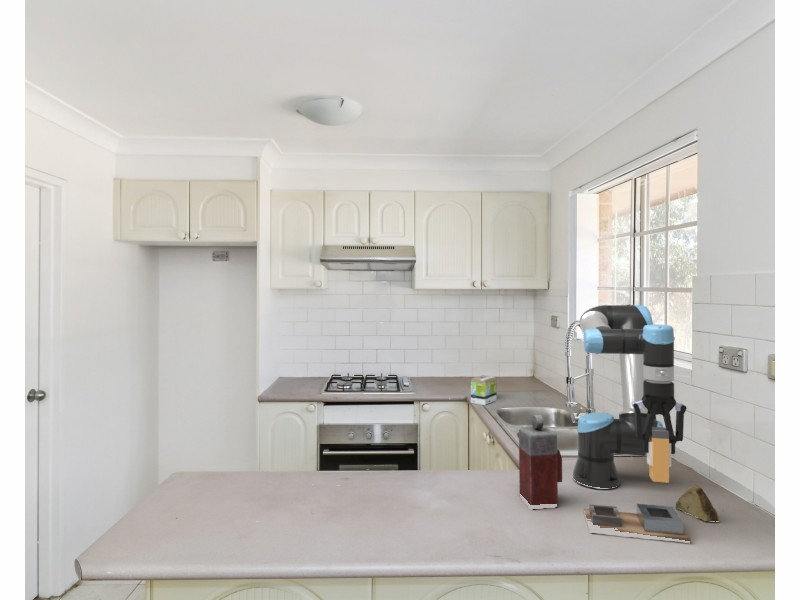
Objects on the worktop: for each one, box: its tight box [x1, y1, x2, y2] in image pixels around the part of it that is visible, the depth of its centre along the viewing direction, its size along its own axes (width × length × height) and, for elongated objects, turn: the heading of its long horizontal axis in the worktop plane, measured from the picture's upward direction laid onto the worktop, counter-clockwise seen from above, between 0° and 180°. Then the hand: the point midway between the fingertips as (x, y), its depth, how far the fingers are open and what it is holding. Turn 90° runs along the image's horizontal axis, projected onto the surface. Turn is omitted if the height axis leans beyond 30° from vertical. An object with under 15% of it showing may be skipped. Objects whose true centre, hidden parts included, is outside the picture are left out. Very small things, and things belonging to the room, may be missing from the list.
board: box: [583, 503, 691, 542], centre depth 134 cm, size 12×25×4 cm, turn 76°
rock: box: [675, 485, 721, 522], centre depth 141 cm, size 11×9×10 cm
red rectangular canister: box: [518, 414, 563, 505], centre depth 151 cm, size 9×11×28 cm
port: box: [636, 503, 684, 536], centre depth 133 cm, size 9×9×4 cm
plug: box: [648, 426, 670, 484], centre depth 132 cm, size 4×4×14 cm
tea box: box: [470, 374, 498, 406], centre depth 283 cm, size 15×10×15 cm
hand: (658, 464), depth 132 cm, fingers closed on plug, 4 cm apart
